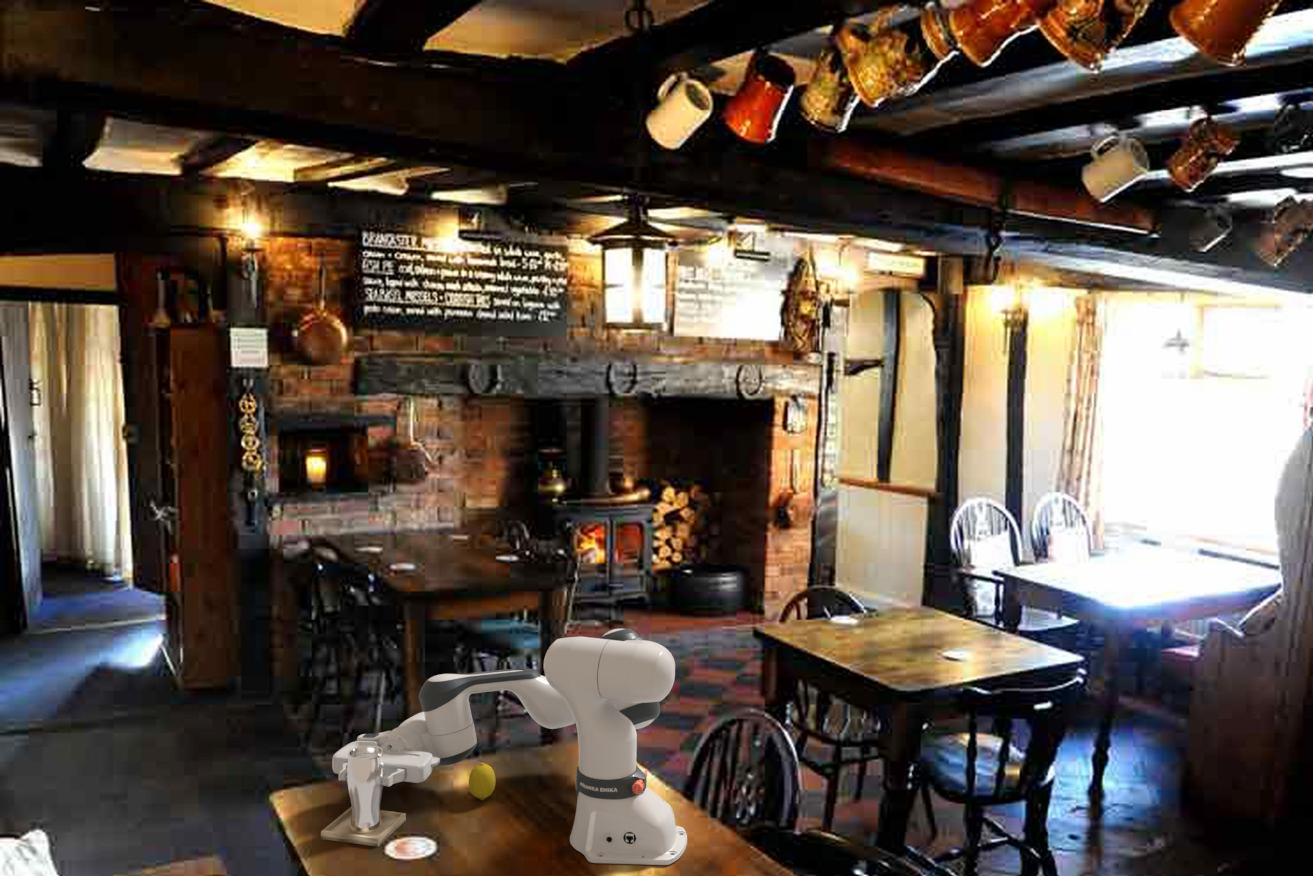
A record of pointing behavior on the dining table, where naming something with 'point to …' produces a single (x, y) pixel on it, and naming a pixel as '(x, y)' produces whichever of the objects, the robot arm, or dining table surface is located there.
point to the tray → (342, 833)
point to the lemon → (482, 781)
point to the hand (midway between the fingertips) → (363, 779)
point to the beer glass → (365, 787)
